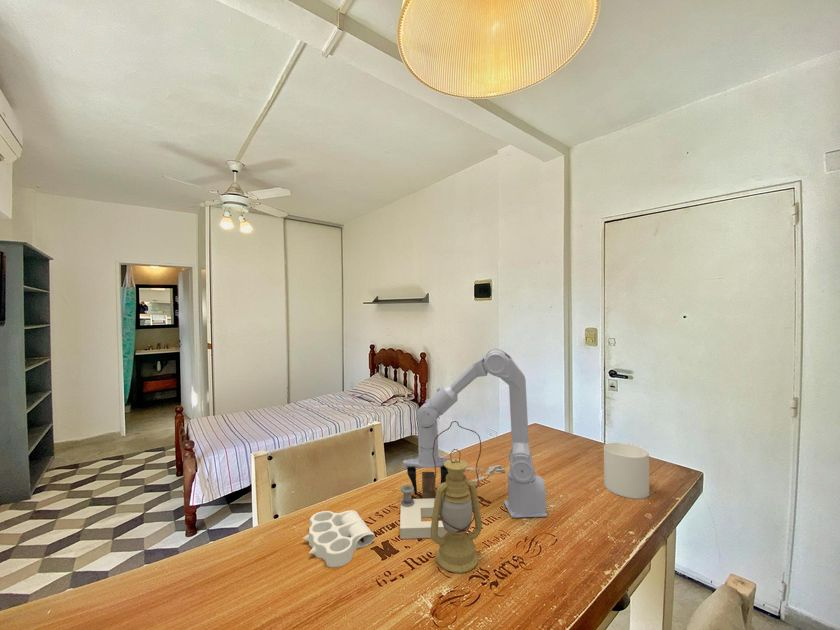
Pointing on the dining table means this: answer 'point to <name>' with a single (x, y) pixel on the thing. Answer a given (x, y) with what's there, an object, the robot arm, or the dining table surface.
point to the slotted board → (416, 516)
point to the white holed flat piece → (337, 536)
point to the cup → (626, 470)
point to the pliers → (488, 471)
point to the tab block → (428, 485)
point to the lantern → (456, 517)
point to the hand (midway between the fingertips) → (428, 492)
